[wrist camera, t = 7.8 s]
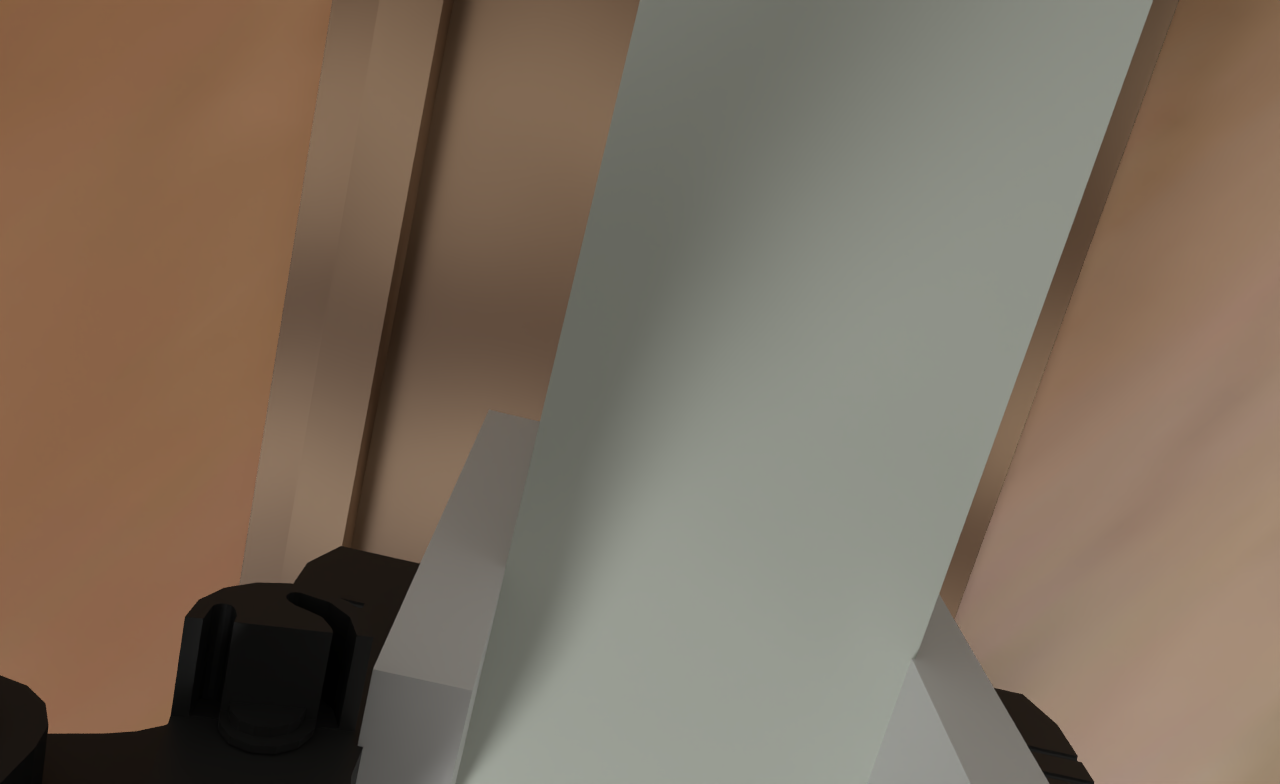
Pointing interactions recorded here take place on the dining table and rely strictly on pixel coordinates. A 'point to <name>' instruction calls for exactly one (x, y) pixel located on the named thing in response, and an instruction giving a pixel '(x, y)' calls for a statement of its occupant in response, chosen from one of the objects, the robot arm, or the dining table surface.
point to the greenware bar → (783, 377)
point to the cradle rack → (485, 263)
